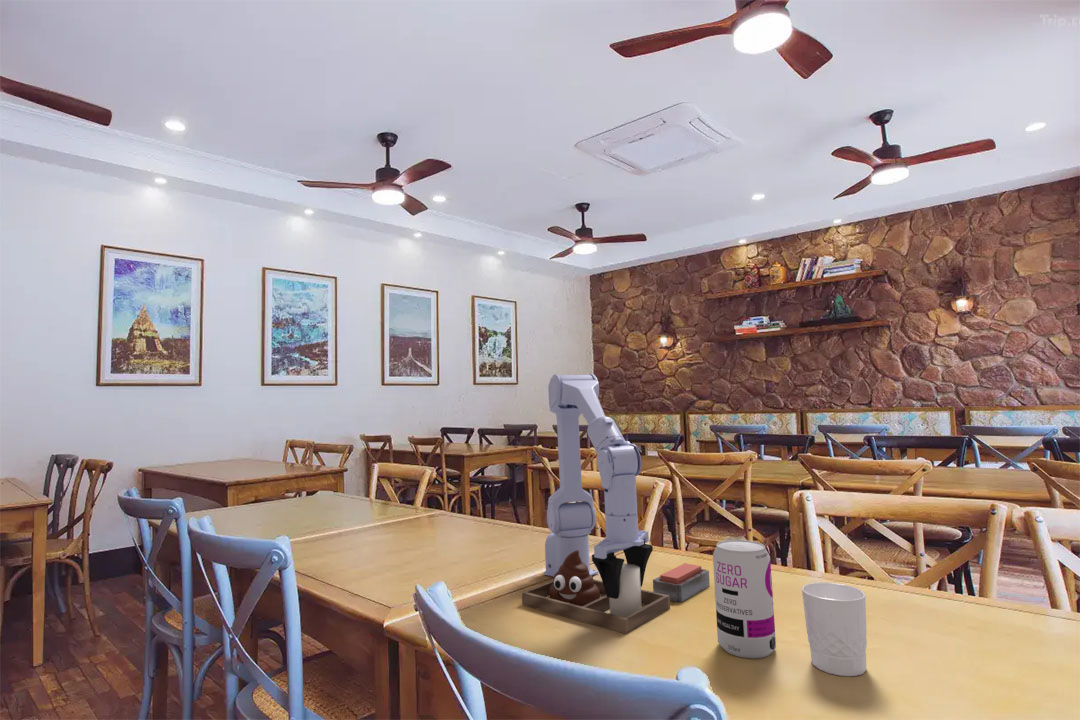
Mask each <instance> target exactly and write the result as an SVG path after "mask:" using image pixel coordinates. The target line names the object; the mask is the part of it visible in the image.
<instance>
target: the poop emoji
mask: <svg viewBox="0 0 1080 720" xmlns="http://www.w3.org/2000/svg"><path fill="white" fill-rule="evenodd" d="M593 579H594V578H593V575H592V576H591V575H590V574H589V570H588V567H587V566H586V564H584V563H583V562H581V558H580V556H579V551H578V550H577V551H574V552H572V553H571V554H569V555H568V556H567V557H566V559H565V560H564V562H563V564H562V565H561V566H560V567H559V570H558V572H556V573H555V575H554V577H553V578H552V581H553V584H552V585H551V587H550V589H549V596H548V598H551V599H555V600H559V601H562V602H566V603H570V604H574V605H578V606H584V605H586V604H588V603H590V602H593V601H595V600H597V599H599V598H601V593H600V591H599V588H598V587H597V586H596V585H595V584H594V580H593Z"/></svg>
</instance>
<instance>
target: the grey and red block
mask: <svg viewBox="0 0 1080 720" xmlns="http://www.w3.org/2000/svg"><path fill="white" fill-rule="evenodd" d="M701 571H702V572H700V573H699V574H697V575H695V576H693V577H691V578H689V579H687V580H685V581H683V582H682V583H680V584H675V583H670V582H665V581H660V576H658V577H655V578H654V579H652V588H653V589H652V590H653V591H652V592H655V593H660V594H664V595H669V596H670V602H676V603H678V602H680V603H683V602H685V601H686V600H688V599H690V598H692V597H694V596H696V595H697V594H698V593H700V592H702V591H704V590H706V589H707V588H709V587H710V586H711V585H710V584H711V583H710V571H709V570H707V569H704V568H701Z"/></svg>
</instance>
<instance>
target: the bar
mask: <svg viewBox="0 0 1080 720" xmlns="http://www.w3.org/2000/svg"><path fill="white" fill-rule="evenodd" d="M701 569H702V566H701V565H698V564H697V565H696V564H692V563H691V564H690V563H683V564H680V565H678V566H676V567H674V568H672V569H670V570H668V571H666V572H664V573H662V574H660V575H659V577H660V581H665V582H670V583H675V584H680V583H682V582H683V581H685V580H687V579H689V578H691V577H693V576H695V575H697V574H699V573H700V572H702V571H701Z"/></svg>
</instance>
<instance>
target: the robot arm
mask: <svg viewBox="0 0 1080 720" xmlns="http://www.w3.org/2000/svg"><path fill="white" fill-rule="evenodd" d="M599 383H600V382H599V380H598V378H597V376H596V375H595V374H594V373H588V374H556V373H554V374H553V375H552V376H551V378H550V380H549V384H548V385H547V386H548V388H547V389H548V390H547V391H548V405H549V411H550V412H552V413H553V414H555V417H556V426H557V427H556V429H557V430H556V431H557V451H558V455H557V456H558V470H559V471H558V474H559V476H558V477H559V488H558V489H557V490H556V491H555V492H553V493H552V494H551V495H550V496H549V497H548V500H547V510H546V521H547V526H548V527H547V528H548V530H550V531H551V532H550V533H548V535H547V537H546V539H545V543H544V553H545V554H544V555H545V557H544V558H545V560H544V561H545V571H544V572H543V575H544V576H549V577H554V575H555V573H556V572H558V570H559V567H560V566H561V565H562V564H563V562H564V560H565V559H566V557H567V556H568V555H569V554H571V553H572V552H574V551H577V550H578V551H579V556H580V558H581V562H583V563H584V564H586V566H587V567H588V570H589V574H590V575H591V576H592V577H593V576H594V575H597V574H599V576H600V579H601V581H602V582H603V585H604V589H605V592H606V596H607V597H609V598H614V599H617V598H618V597H619V591H620V574H621V569H622V566H623V564H625V563H624V562H625V560H626V564H633V565H637V566H639V567H640V582H641V588H642V587H643V583H644V580H645V579H644V578H645V573H646V568H647V564H648V562H649V559H650V556H651V554H652V552H653V544H648V543H649V542H650V539H649V535H650V534H649V530H648V531H647V530H639V521H638V516H639V515H638V501H637V500H638V498H637V497H638V496H637V480H636V479H637V478H636V477H637V476H639V474H640V473H641V470H642V457H641V454H640V453H641V452H640V451H639V449H638V448H639V447H638V446H637V445H636V444H635V443H631V442H630V441H626V439H625V438H624V436H623V435H622V433H621V431H620V429H619V427H618V426H617V424H616V421H615V420H614V419H613V418H611V417H609V416H606V414H605V412H604V409H603V407H602V405H601V402H600V400H599V395H600V394H599V393H600V384H599ZM581 415H582V416H583V418H584V419H585V421H586V423H587V424H588V426H587V429H586V432H587V436H588V438H589V440H590V442H591V444H592V445H593V448H594V450H595V452H596V454H597V460H596V463H597V469H598V473H599V476H600V484H601V487H602V488H603V489H604V490H603V494H604V515H605V517H604V519H605V537H604V539H602V540H600V542H599V543H598V544H595V545H594V546H593V554H592V555H591V562H592V563H593V564H594V566H595V567H596V569H597V570H596V569H592V568H590V567H591V566H590V565H591V564H590V543H589V542H590V541H589V535H590V534H592V530H593V529H594V527H595V526H596V523H597V513H596V508H595V504H594V497H593V496H592V495H591V494H590V492H588V491H586V490H585V489H583V485H582V484H583V479H582V463H581V462H582V460H581V445H580V444H581V441H580V421H579V420H580V419H579V418H580V416H581ZM622 551H623V553H624V557H625V558H621V557H617V555H615V553H616V554H617V553H619V552H622Z"/></svg>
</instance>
